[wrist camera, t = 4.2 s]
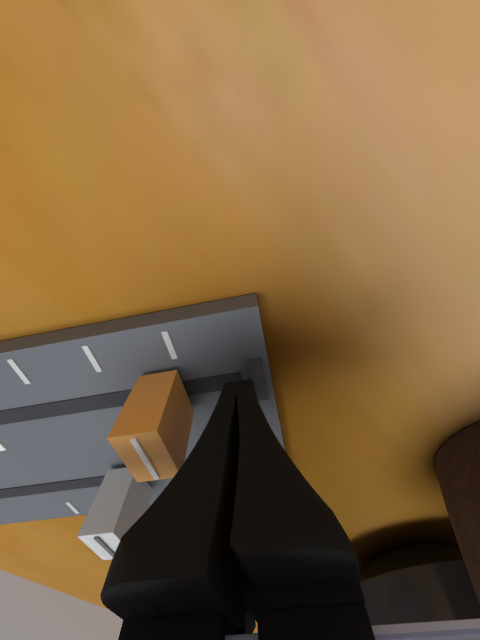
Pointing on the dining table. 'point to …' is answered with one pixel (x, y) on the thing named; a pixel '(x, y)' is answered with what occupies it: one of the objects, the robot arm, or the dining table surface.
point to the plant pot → (463, 494)
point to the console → (112, 396)
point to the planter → (418, 586)
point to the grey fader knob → (114, 511)
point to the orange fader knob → (154, 427)
